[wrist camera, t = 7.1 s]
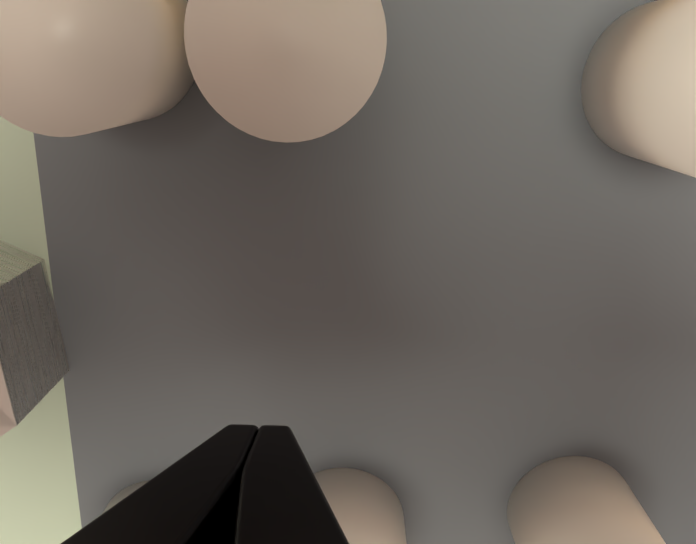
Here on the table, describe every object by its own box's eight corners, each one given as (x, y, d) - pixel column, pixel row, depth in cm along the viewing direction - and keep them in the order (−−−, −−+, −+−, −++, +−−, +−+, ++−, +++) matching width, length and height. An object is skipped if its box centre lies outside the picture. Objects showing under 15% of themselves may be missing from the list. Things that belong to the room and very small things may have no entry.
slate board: (735, 553, 17) (788, 620, 15) (-151, 527, 17) (-220, 591, 15) (876, -17, 13) (976, -34, 11) (-295, -44, 13) (-419, -65, 11)
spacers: (635, 594, 16) (698, 714, 13) (107, 578, 17) (50, 694, 13) (756, -28, 12) (891, -61, 9) (37, -44, 12) (-69, -82, 9)
